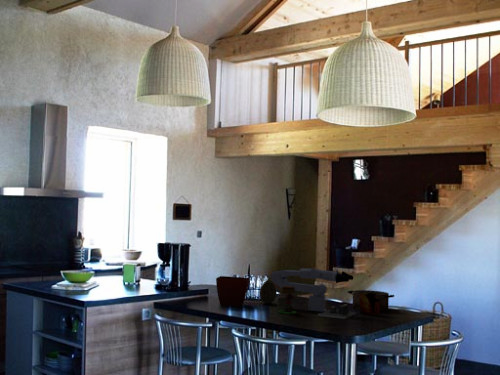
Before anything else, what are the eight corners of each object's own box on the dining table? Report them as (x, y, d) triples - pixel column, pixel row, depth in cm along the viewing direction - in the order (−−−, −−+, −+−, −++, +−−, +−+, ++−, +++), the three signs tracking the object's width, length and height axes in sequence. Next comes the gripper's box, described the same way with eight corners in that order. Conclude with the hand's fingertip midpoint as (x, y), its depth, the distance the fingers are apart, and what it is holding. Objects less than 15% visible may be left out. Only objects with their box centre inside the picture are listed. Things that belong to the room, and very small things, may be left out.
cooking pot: (340, 308, 401) (341, 291, 402) (355, 305, 420) (356, 288, 420) (385, 314, 385) (386, 296, 385) (399, 310, 403) (399, 293, 404)
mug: (378, 316, 372) (379, 295, 373) (356, 313, 380) (357, 293, 380) (384, 314, 380) (385, 294, 380) (363, 312, 388) (363, 292, 388)
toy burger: (301, 312, 374) (302, 287, 375) (291, 314, 364) (292, 288, 365) (284, 310, 381) (285, 285, 382) (273, 312, 371) (274, 286, 371)
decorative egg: (270, 305, 401) (271, 281, 402) (256, 303, 407) (257, 279, 407) (279, 303, 410) (280, 280, 411) (264, 301, 416) (265, 278, 417)
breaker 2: (342, 312, 374) (342, 304, 374) (344, 311, 378) (344, 304, 378) (346, 312, 373) (346, 305, 373) (348, 311, 377) (348, 304, 377)
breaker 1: (338, 313, 368) (338, 306, 368) (340, 312, 371) (340, 305, 372) (342, 313, 367) (342, 306, 367) (344, 313, 370) (344, 305, 370)
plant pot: (249, 304, 402) (250, 277, 403) (245, 308, 383) (247, 280, 384) (219, 302, 404) (220, 275, 405) (214, 306, 385) (215, 278, 386)
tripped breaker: (329, 314, 363) (330, 306, 363) (331, 313, 366) (332, 306, 366) (333, 314, 362) (334, 307, 362) (336, 313, 365) (336, 306, 365)
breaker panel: (318, 316, 363) (318, 312, 364) (330, 311, 383) (330, 308, 383) (345, 318, 357) (345, 315, 357) (356, 314, 376) (356, 310, 377)
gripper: (325, 270, 377) (347, 273, 371) (334, 267, 390) (355, 270, 383) (324, 282, 377) (346, 285, 371) (333, 278, 390) (354, 281, 384)
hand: (350, 278), depth 377 cm, fingers open, 7 cm apart
